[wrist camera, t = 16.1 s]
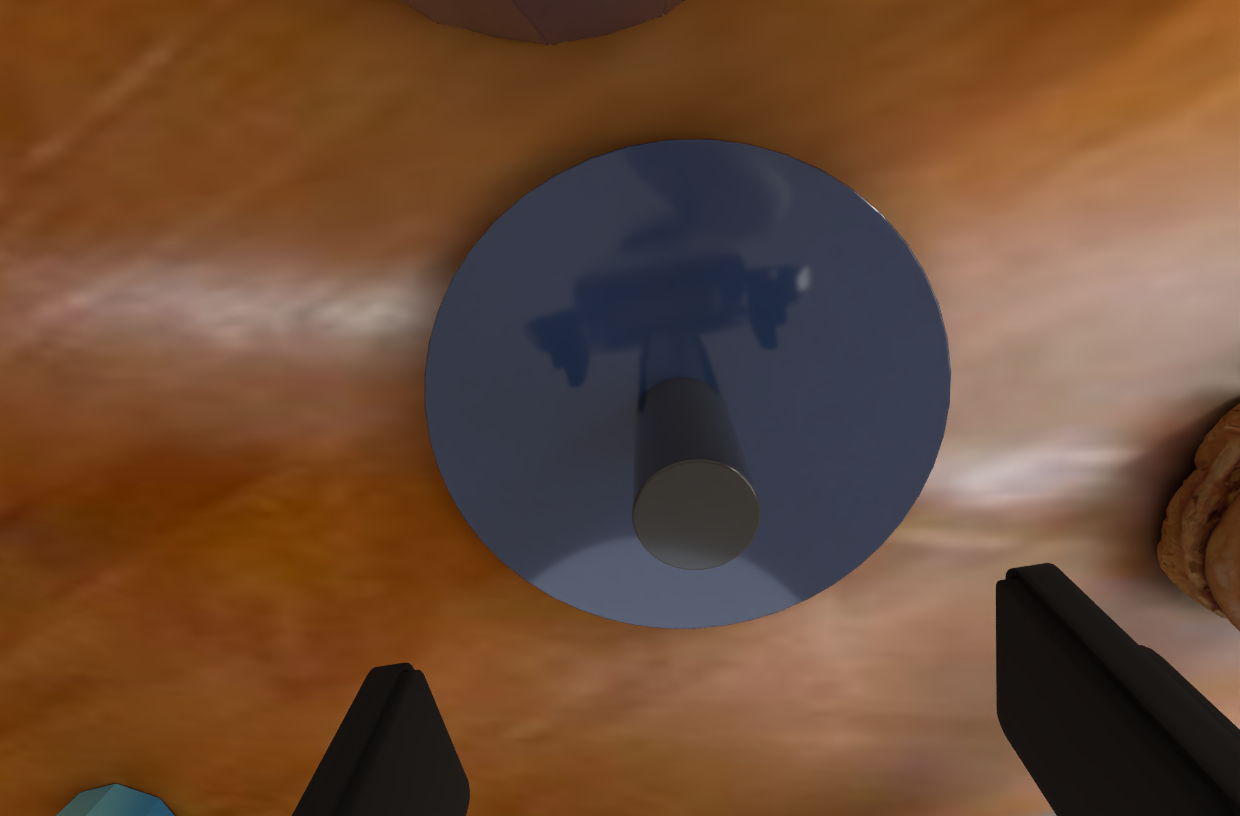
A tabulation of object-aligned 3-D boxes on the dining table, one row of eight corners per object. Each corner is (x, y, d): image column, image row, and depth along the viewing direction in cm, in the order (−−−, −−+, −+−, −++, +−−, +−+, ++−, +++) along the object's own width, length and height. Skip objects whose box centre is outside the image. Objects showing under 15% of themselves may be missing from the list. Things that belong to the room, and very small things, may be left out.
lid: (924, 77, 17) (1092, 26, 11) (942, 571, 23) (1059, 732, 17) (363, 209, 19) (218, 235, 13) (512, 636, 25) (465, 803, 18)
